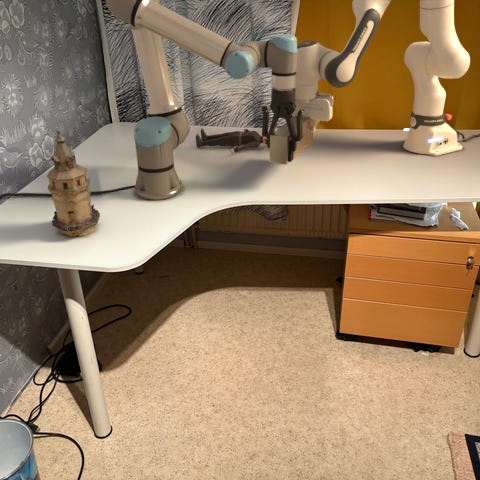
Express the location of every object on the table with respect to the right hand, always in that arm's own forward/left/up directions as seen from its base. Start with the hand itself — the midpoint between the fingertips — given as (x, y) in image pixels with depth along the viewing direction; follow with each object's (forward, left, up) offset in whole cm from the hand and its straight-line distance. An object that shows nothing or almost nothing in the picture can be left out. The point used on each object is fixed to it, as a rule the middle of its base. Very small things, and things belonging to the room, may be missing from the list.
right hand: (302, 130), depth 192 cm
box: (+7, +8, -4) cm, 11 cm away
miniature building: (+81, +26, -13) cm, 86 cm away
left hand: (+14, +16, -3) cm, 21 cm away
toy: (+18, -26, -13) cm, 34 cm away
